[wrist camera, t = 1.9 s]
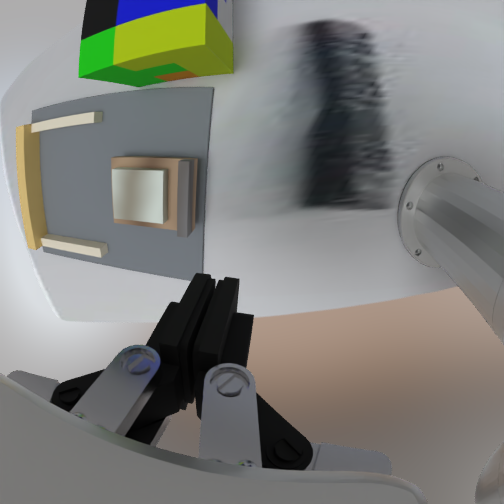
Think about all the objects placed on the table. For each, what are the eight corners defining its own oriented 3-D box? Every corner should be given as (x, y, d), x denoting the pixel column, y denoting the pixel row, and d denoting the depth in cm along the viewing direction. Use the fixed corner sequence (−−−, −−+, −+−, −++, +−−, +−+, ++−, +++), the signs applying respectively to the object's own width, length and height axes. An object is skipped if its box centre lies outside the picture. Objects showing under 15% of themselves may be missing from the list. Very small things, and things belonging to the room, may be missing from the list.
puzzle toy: (232, -8, 18) (209, -58, 9) (233, 73, 22) (205, 44, 13) (142, 10, 19) (91, -21, 10) (139, 87, 23) (78, 77, 14)
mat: (213, 87, 23) (204, 82, 20) (202, 280, 32) (194, 297, 29) (34, 110, 24) (16, 112, 21) (45, 250, 33) (31, 260, 30)
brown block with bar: (201, 157, 25) (189, 161, 22) (198, 224, 28) (187, 237, 25) (122, 154, 26) (103, 159, 22) (123, 216, 29) (106, 227, 25)
